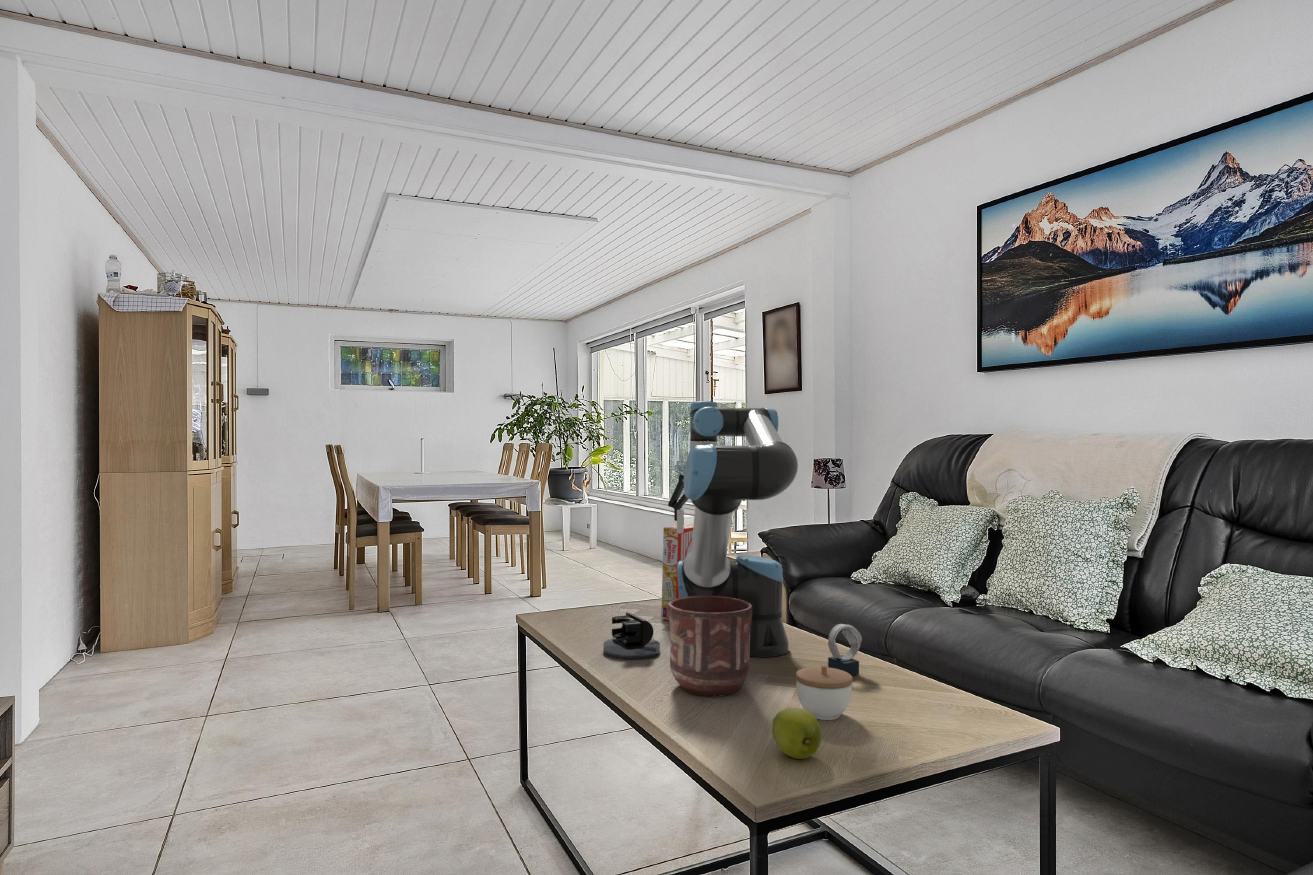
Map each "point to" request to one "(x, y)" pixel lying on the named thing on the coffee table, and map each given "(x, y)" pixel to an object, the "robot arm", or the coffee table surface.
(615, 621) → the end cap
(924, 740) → the coffee table surface
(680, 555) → the popcorn box
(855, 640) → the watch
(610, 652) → the plate
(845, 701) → the lidded jar
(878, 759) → the coffee table surface
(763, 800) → the coffee table surface
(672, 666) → the pottery
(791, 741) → the green lime
